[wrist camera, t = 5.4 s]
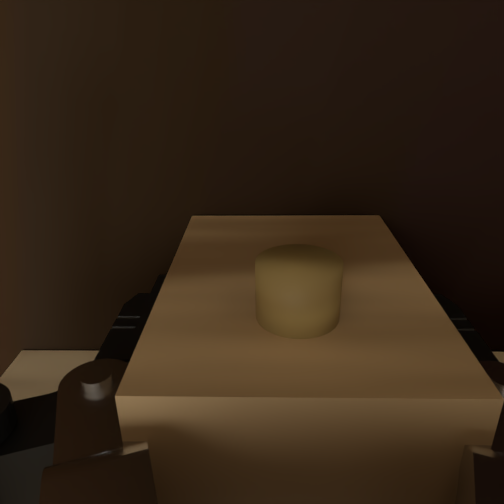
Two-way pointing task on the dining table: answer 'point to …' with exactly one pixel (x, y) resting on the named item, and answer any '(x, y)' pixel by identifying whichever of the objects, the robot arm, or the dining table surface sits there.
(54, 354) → the board
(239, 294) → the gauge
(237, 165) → the dining table surface
